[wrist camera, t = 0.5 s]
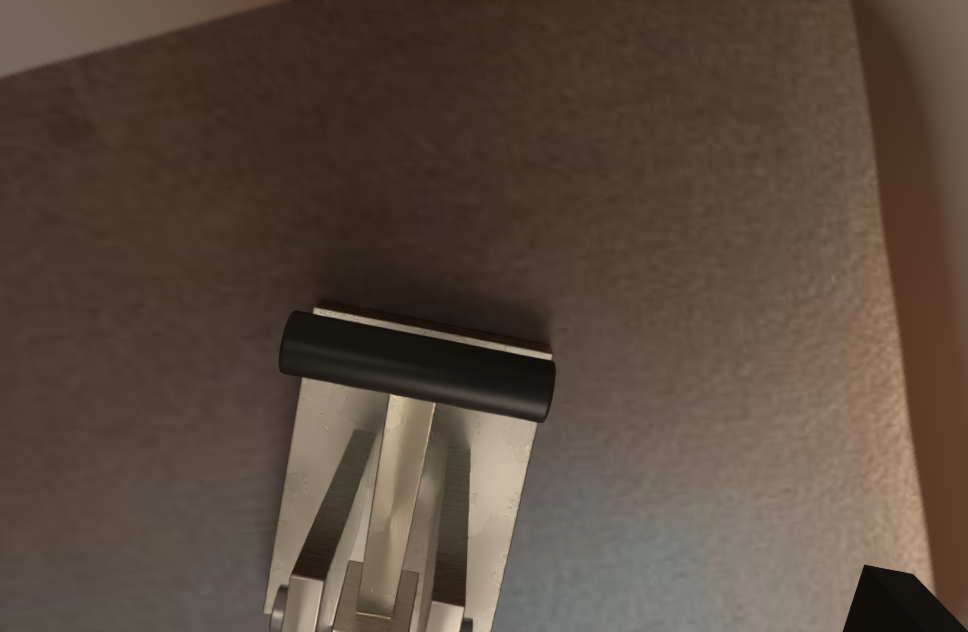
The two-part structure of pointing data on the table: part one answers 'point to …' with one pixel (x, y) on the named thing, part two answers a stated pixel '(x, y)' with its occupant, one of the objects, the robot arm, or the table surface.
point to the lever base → (439, 508)
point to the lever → (405, 433)
